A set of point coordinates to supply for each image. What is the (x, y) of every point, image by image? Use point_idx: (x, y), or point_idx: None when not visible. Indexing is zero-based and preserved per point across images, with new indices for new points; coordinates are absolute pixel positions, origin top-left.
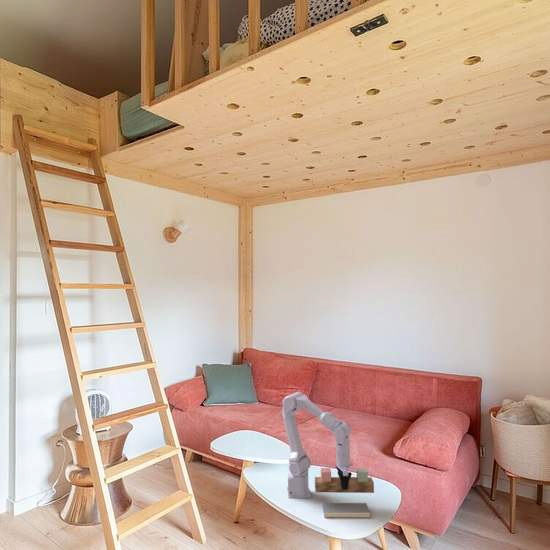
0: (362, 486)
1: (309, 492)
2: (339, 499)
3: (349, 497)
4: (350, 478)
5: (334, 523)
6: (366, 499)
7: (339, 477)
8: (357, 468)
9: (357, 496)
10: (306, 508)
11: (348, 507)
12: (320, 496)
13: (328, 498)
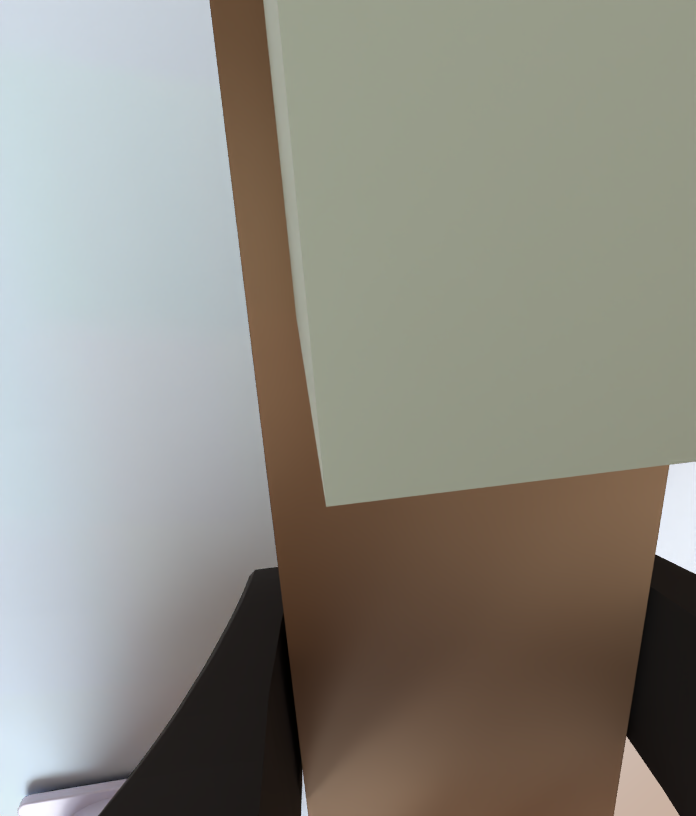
0: None
1: (117, 789)
2: (185, 482)
3: (102, 356)
4: (370, 531)
5: (671, 519)
6: (106, 91)
7: (327, 800)
8: (405, 382)
9: (41, 235)
10: None
11: None
12: (154, 676)
13: (184, 598)
